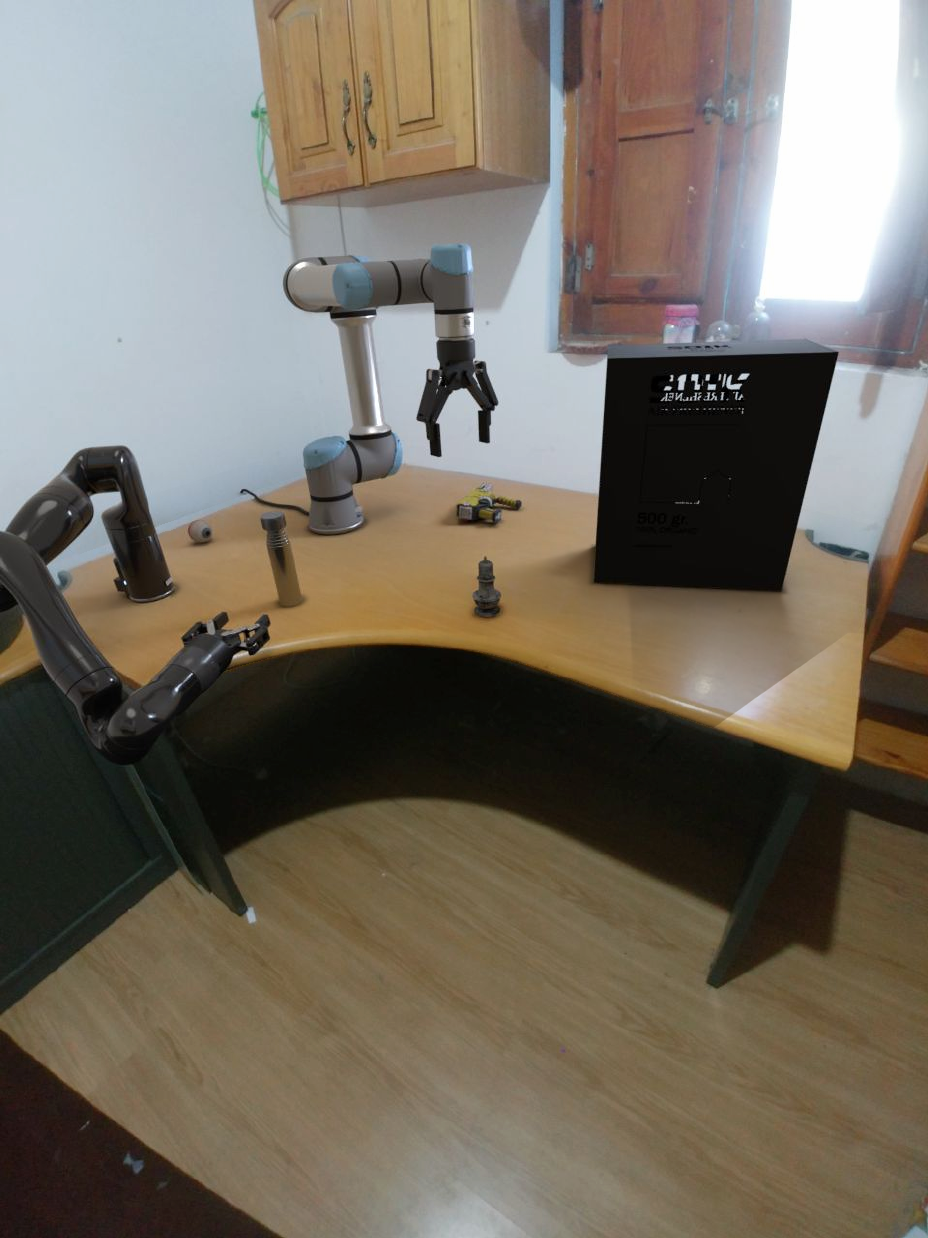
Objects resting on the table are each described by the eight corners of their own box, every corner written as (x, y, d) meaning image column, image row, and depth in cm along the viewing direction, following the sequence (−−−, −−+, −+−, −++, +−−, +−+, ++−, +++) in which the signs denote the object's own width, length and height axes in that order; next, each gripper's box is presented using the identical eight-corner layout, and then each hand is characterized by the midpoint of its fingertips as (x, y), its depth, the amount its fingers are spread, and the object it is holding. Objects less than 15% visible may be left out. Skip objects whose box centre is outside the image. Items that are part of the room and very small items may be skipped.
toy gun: (529, 487, 179) (482, 480, 183) (508, 512, 159) (455, 503, 163) (528, 503, 181) (481, 495, 185) (506, 528, 161) (454, 519, 165)
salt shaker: (499, 618, 119) (498, 563, 113) (470, 616, 121) (467, 562, 115) (503, 604, 124) (502, 550, 118) (475, 602, 125) (473, 549, 119)
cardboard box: (760, 550, 140) (805, 338, 118) (781, 591, 123) (838, 351, 101) (595, 545, 148) (608, 345, 125) (593, 582, 131) (607, 358, 108)
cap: (286, 529, 120) (283, 517, 119) (261, 532, 120) (258, 520, 118) (286, 521, 124) (284, 509, 123) (263, 524, 124) (260, 512, 122)
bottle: (302, 604, 129) (283, 519, 119) (279, 608, 128) (259, 522, 119) (302, 595, 133) (284, 511, 123) (280, 598, 132) (260, 514, 123)
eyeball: (201, 547, 160) (195, 526, 157) (186, 543, 163) (180, 522, 160) (220, 539, 164) (214, 518, 161) (205, 536, 167) (199, 515, 164)
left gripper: (166, 680, 103) (218, 631, 117) (241, 688, 101) (285, 636, 114) (152, 644, 100) (207, 597, 113) (230, 650, 97) (277, 601, 110)
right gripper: (416, 346, 107) (425, 465, 117) (514, 332, 120) (515, 439, 131) (391, 344, 112) (402, 458, 122) (488, 330, 125) (491, 434, 136)
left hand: (246, 617), depth 114 cm, fingers open, 8 cm apart
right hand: (461, 448), depth 127 cm, fingers open, 13 cm apart
